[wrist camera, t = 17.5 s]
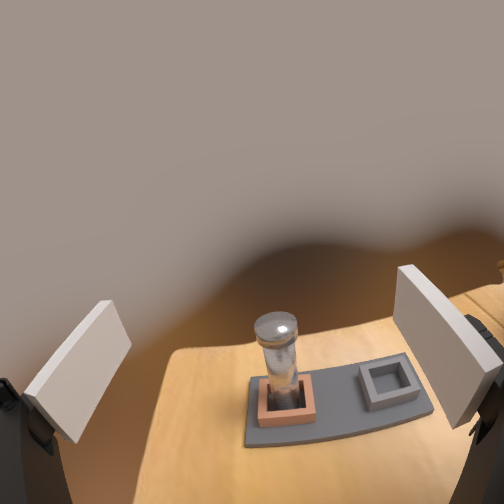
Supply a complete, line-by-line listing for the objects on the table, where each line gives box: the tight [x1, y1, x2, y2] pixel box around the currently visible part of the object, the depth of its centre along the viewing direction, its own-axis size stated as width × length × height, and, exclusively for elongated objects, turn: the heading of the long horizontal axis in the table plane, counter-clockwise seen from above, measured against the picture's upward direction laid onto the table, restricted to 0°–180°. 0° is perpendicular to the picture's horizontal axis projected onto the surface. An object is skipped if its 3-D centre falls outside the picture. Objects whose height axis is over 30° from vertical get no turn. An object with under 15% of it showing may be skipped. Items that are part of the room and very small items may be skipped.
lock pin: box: [254, 312, 301, 411], centre depth 34 cm, size 5×5×16 cm
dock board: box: [245, 352, 434, 448], centre depth 36 cm, size 28×14×4 cm, turn 87°
